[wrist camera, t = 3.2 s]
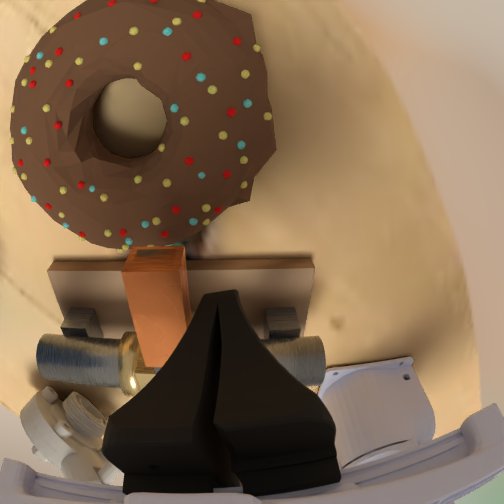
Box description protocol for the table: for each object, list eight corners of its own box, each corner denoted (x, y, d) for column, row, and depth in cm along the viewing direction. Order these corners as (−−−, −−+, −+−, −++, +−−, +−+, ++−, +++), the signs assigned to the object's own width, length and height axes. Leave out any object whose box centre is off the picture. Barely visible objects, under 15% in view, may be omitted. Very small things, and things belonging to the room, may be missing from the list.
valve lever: (209, 411, 17) (209, 439, 15) (169, 410, 17) (166, 438, 15) (192, 241, 11) (187, 271, 10) (128, 242, 11) (114, 271, 10)
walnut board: (310, 258, 21) (315, 268, 20) (295, 350, 26) (298, 361, 25) (53, 261, 20) (47, 270, 19) (86, 349, 24) (82, 359, 23)
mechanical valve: (10, 397, 24) (37, 502, 14) (112, 287, 32) (186, 347, 21) (74, 439, 30) (126, 530, 19) (164, 344, 38) (246, 407, 27)
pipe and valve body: (310, 295, 21) (335, 367, 16) (302, 342, 24) (320, 411, 18) (55, 296, 20) (21, 360, 15) (74, 341, 22) (50, 404, 17)
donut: (135, 261, 21) (116, 310, 16) (6, 113, 14) (-43, 131, 10) (320, 131, 17) (352, 151, 13) (180, -49, 11) (166, -86, 7)
